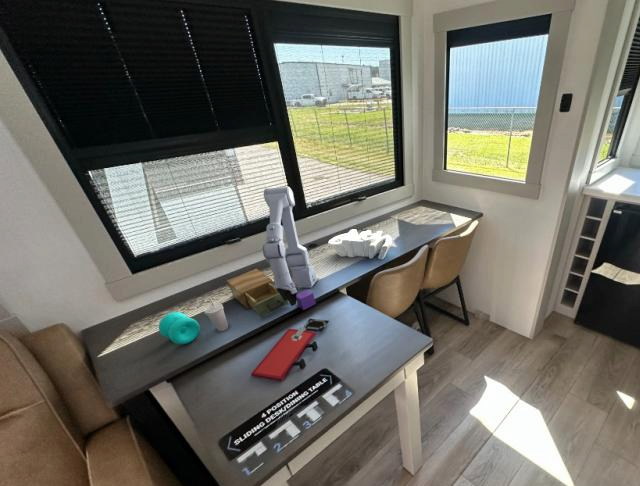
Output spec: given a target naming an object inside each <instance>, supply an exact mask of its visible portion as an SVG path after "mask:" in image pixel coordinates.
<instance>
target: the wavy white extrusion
mask: <svg viewBox="0 0 640 486" xmlns="http://www.w3.org/2000/svg"><path fill="white" fill-rule="evenodd" d="M392 242H393V238H392V237H391V235H389V234H385V235H383V231H382V230H377V231H376V232H375V233H372V230H370V229H368V230H365V231H363V230H362V231H360V233H358V230H357V229H355V228H354V229H350V230H349V231H348V232H347V233H342V234H338V235H335V236H334V237H332V238H331V239H329V240H328V244H329V245H330V247H331V248H332V250H333V251H334V252H335V253H336V254H337V255H338V256H339V257H348V258H354V257H366V258H368V259H370V260H372V259H374V258H375V256H377V255H378V257H377V259H378V260H383V259H384V258H385V257H386V255H387V253H388V252H389V249H390V247H391V245H392Z"/></svg>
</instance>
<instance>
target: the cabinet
mask: <svg viewBox="0 0 640 486" xmlns="http://www.w3.org/2000/svg"><path fill="white" fill-rule="evenodd" d="M226 283H227V286H228V287H229V290H230V293H231V295H232V297H233V298H235V299H236V300H237V301H238V302H239V303H240V304H241V305H243V307H245V308H246V309H247V310H249V309H251V308H252V307H251V306H250V305H249V304H248V303H247V301H246V299H245V296H244V293H246V292H249V291H251V290H253V289H256V288H258V287H260V286H263V285H265V284H267V283H271V284H272V285H273V286H274V285H275V284H274V280H273V278H270V277H269V276H267V275H266V274H265V273H263V272H261V270H259V269H257V268H254V269H253V270H250V271H248V272H244V273H242V274H239V275H237V276H234V277H232V278H230V279H227V280H226Z"/></svg>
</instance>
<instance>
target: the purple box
mask: <svg viewBox="0 0 640 486" xmlns="http://www.w3.org/2000/svg"><path fill="white" fill-rule="evenodd" d="M315 298H316V297H315V295H314V292H312V291H311V290H310V289H309V288H308V289H307V288H306V289H305V290H303V291H301V292H299V293H297V296H296V305H297V307H298V308H300V309H302V311H305V310H307V309H309V308H310V307H313V306H314V305H316V304H317V302H316V299H315Z"/></svg>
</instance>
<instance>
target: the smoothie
mask: <svg viewBox="0 0 640 486" xmlns="http://www.w3.org/2000/svg"><path fill="white" fill-rule="evenodd" d="M208 299H209V302H210V303H211V304H209V305H208V306H206V307H205V308H204V310H203V313H204V315H206V316H207V317H208V318H209V320H210V321H211V323H212V324H213V325H214V327H215V328H216V330H217V331H218V332H224V331H226V330H227V329H229V325H228V321H227V317H226V314H225V311H224V306H223V304H222V303H220V302H219V303H218V302H217V303H214V301H213V298H212V297H211V296H209V297H208Z"/></svg>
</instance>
